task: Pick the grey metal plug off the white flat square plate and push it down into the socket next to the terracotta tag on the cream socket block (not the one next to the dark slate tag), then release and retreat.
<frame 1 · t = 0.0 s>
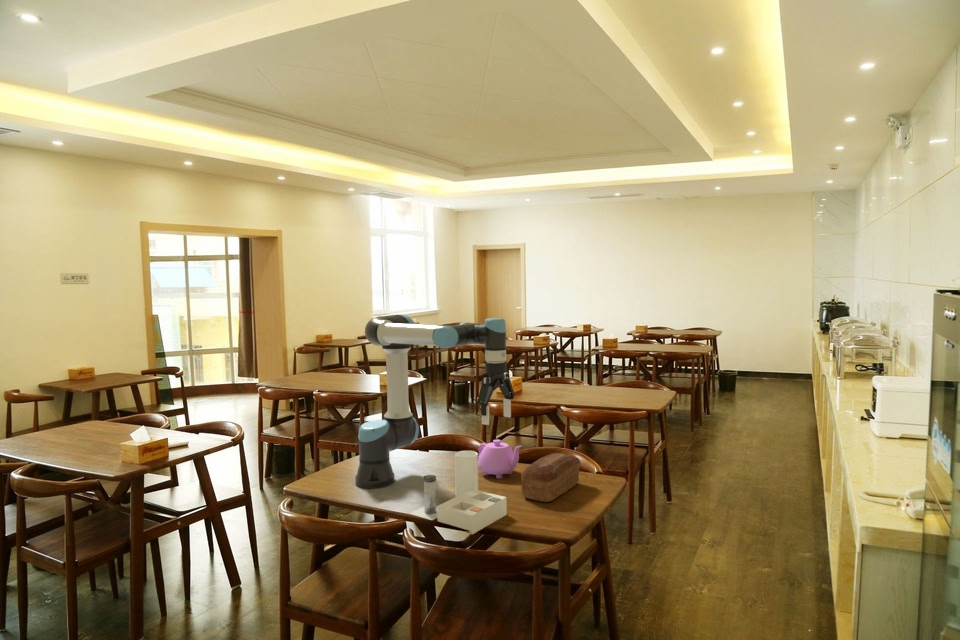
hand: (496, 420, 218), 28 cm above the table, fingers open, 13 cm apart
white flat square plate: (430, 514, 204), on the table
bread: (551, 491, 226), on the table
cup: (466, 497, 220), on the table
socket block: (472, 519, 200), on the table
plug: (430, 512, 204), point 1 cm above the table, touching white flat square plate
teapot: (499, 474, 246), on the table
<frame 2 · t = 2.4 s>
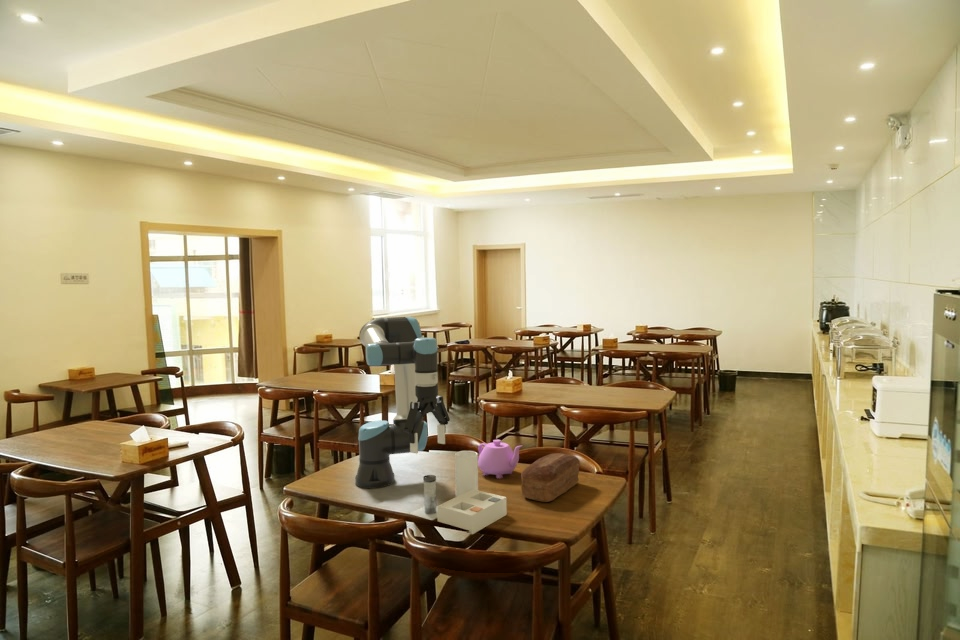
hand: (428, 448, 203), 23 cm above the table, fingers open, 13 cm apart
nothing on the table moved.
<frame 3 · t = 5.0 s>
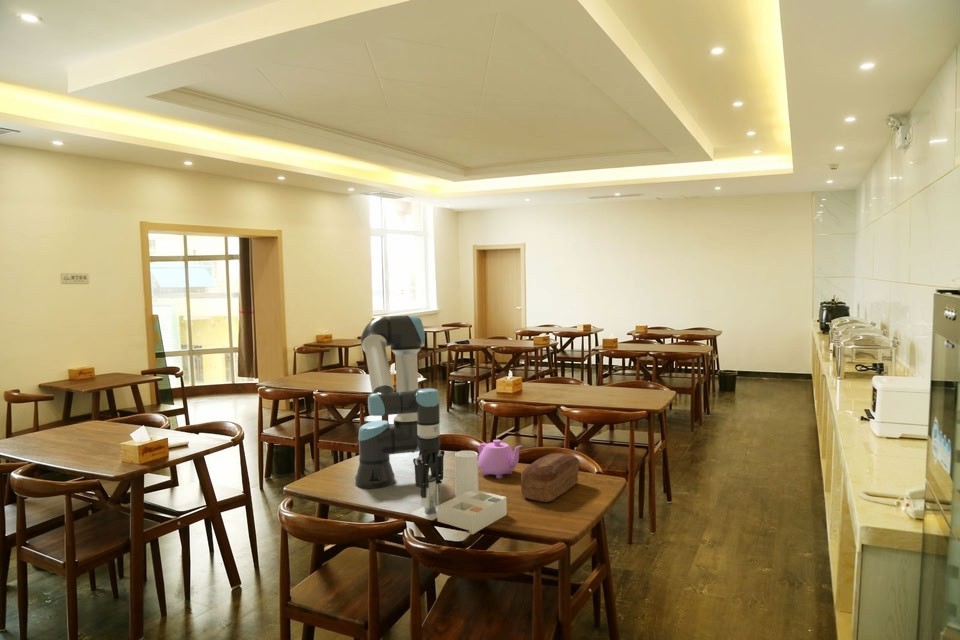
hand: (430, 504, 204), 4 cm above the table, fingers closed on plug, 4 cm apart
plug: (430, 511, 204), point 1 cm above the table, touching gripper
everything else where it was.
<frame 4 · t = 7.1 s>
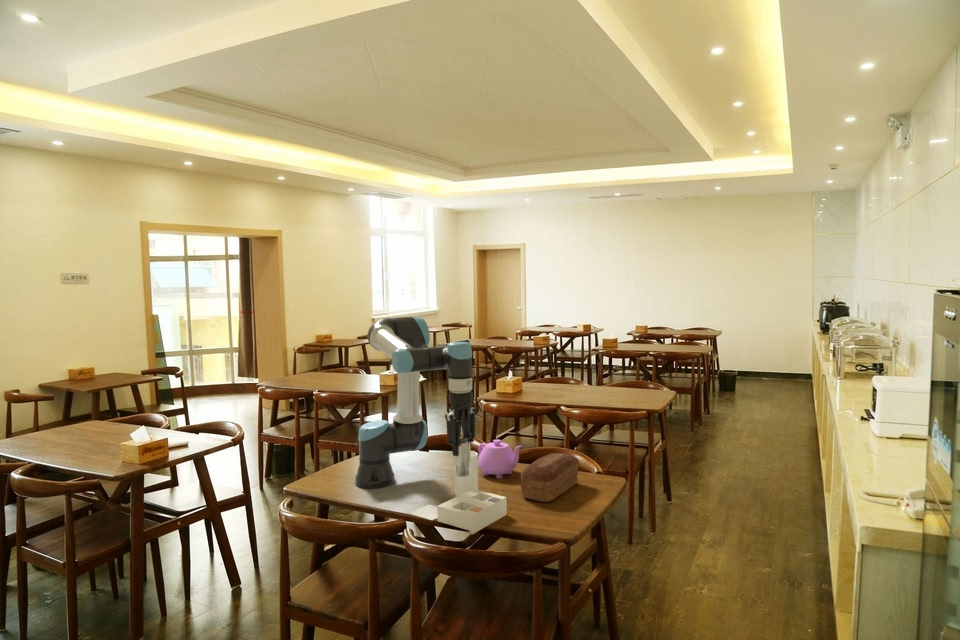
hand: (462, 463, 194), 20 cm above the table, fingers closed on plug, 4 cm apart
plug: (462, 474, 195), point 16 cm above the table, touching gripper
everything else where it was.
when the fingers open (7 cm above the table, at t = 9.2 s): plug drops 3 cm, resting in socket block.
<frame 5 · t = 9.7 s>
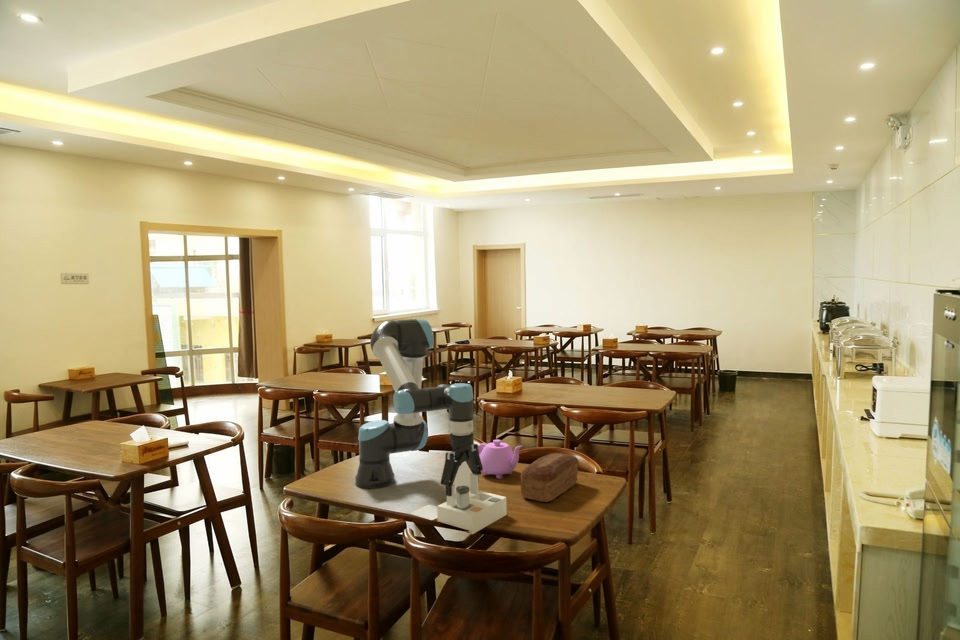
hand: (462, 499, 195), 8 cm above the table, fingers open, 11 cm apart
plug: (463, 524, 196), resting in socket block
everything else where it was.
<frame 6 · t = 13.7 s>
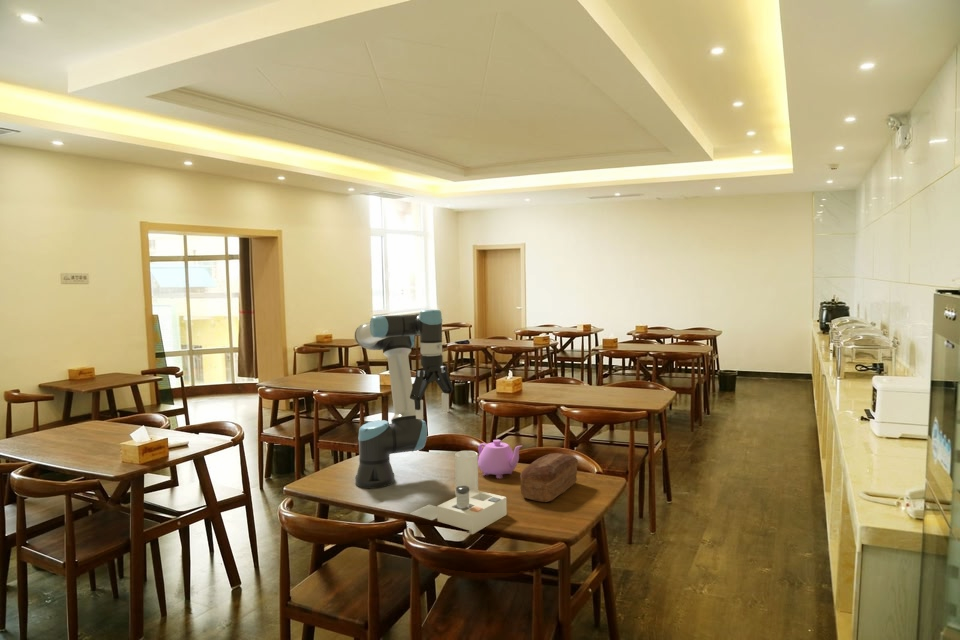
hand: (432, 415, 212), 32 cm above the table, fingers open, 13 cm apart
nothing on the table moved.
at the end: plug 0.0 cm from the target spot on the socket block, point 0.0 cm above the socket block's base; plug tilted 0°; the gripper is holding nothing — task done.
